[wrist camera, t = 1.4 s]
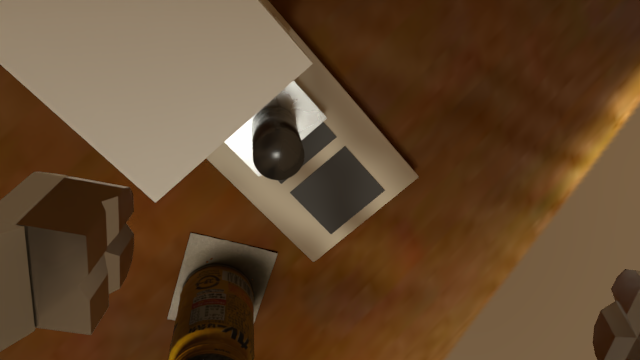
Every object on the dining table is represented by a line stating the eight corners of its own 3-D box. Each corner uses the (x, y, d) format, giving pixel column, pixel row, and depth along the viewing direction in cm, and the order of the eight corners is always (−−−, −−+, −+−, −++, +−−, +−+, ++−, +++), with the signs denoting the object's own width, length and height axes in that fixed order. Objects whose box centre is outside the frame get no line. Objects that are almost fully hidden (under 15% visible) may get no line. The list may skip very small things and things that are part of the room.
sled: (258, 171, 43) (261, 210, 37) (-12, -100, 35) (-71, -111, 28) (325, 114, 42) (339, 144, 36) (63, -180, 34) (20, -211, 27)
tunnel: (180, 132, 42) (155, 202, 30) (46, 2, 38) (-42, 26, 26) (293, 30, 40) (312, 63, 29) (166, -118, 36) (129, -149, 24)
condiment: (167, 317, 49) (145, 424, 38) (190, 231, 47) (174, 319, 36) (250, 333, 51) (251, 440, 40) (277, 251, 48) (287, 341, 37)
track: (311, 253, 49) (313, 262, 47) (-155, -202, 34) (-173, -209, 32) (413, 170, 47) (419, 177, 45) (-30, -349, 32) (-44, -363, 30)
